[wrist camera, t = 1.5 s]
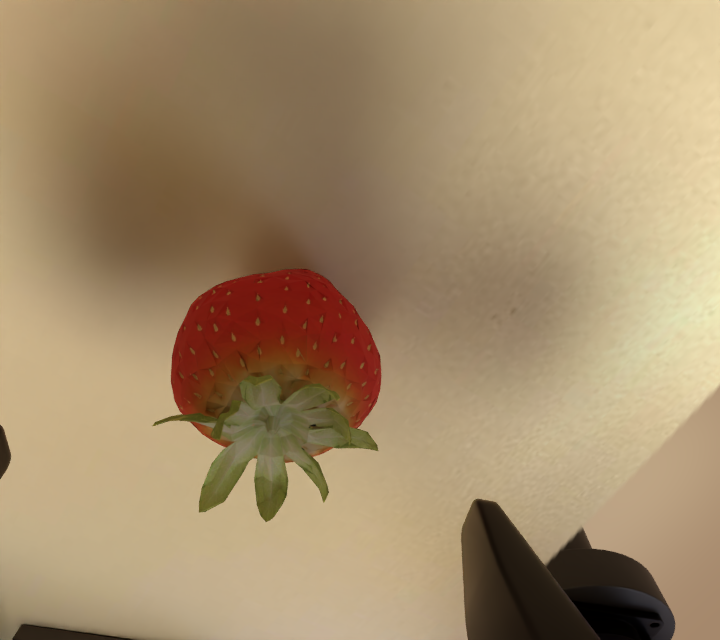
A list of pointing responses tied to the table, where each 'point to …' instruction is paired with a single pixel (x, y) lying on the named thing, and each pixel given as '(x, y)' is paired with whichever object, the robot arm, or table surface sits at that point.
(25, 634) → the bin
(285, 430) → the fruit
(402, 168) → the table surface
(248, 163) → the table surface
